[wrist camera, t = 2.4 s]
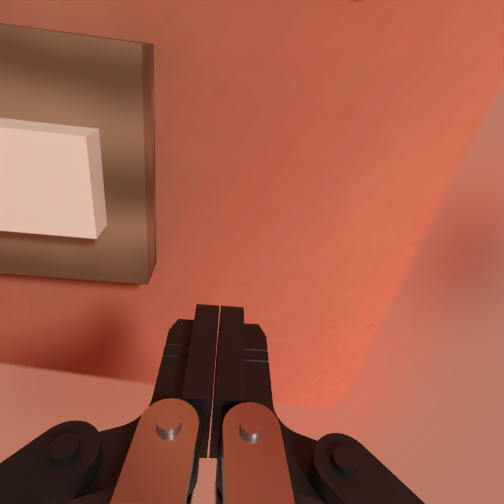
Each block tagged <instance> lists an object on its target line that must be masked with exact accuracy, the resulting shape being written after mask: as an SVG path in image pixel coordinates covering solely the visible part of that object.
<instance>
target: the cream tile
mask: <svg viewBox="0 0 504 504" xmlns="http://www.w3.org/2000/svg"><path fill="white" fill-rule="evenodd" d="M106 226H107V217H106V206H105V194H104V183H103V171H102V160H101V149H100V137H99V129H95V128H86V127H77V126H68V125H59V124H51V123H42V122H33V121H24V120H15V119H6V118H0V231H10V232H21V233H33V234H44V235H56V236H68V237H79V238H91V239H97V238H98V236H99V235H100V234H101V232H102V231H103V230H104V228H105V227H106Z"/></svg>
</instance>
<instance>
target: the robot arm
mask: <svg viewBox="0 0 504 504" xmlns="http://www.w3.org/2000/svg"><path fill="white" fill-rule="evenodd" d="M218 316H219V306H217V305H203V304H197V306H196V312H195V318H194V320H186V319H178V320H177V321H176V323H175V324H174V325H173V326H172V327H171V328H170V329H169V332H168V336H167V340H166V346H165V348H164V352H163V357H162V361H161V365H160V369H159V373H158V377H157V381H156V385H155V389H154V393H153V397H152V401H151V403H150V405H149V407H148V408H147V409H146V410H145V411H144V413H143V414H142V415H141V416H140V417H138V418H137V419H136V420H134V421H133V422H131V423H128V424H126V425H124V426H120V427H116V428H113V429H109V430H105V431H101V432H98V431H97V429H96V428H95V427H94V426H92V425H91V424H89V423H87V422H84V421H68V422H64V423H61V424H59V425H56V426H54V427H52V428H51V429H49V430H47V431H46V432H44V433H43V434H42V435H40V436H39V437H37V438H36V439H35V440H33V441H32V442H30V443H29V444H27V445H26V446H24V447H23V448H21V449H20V450H19V451H17V452H16V453H14V454H13V455H12V456H10V457H9V458H7V459H6V460H4V461H3V462H1V463H0V504H192V498H193V493H194V488H195V486H196V483H197V477H198V468H199V458H207V449H208V439H209V430H210V419H211V410H212V399H213V412H212V427H211V440H210V455H209V458H217V469H216V482H215V504H425V503H424V502H423V501H422V500H420V499H419V498H418V497H417V496H416V495H415V494H414V493H413V492H412V491H411V490H410V489H409V488H408V487H407V486H406V485H404V484H403V483H402V482H401V481H400V480H399V479H398V478H397V477H396V476H395V475H393V473H392V472H391V471H390V470H388V469H387V468H386V467H385V466H384V465H383V464H382V463H381V462H380V461H379V460H377V459H376V457H375V456H373V455H372V454H371V453H370V452H369V451H368V450H367V449H366V448H365V447H363V445H362V444H360V443H359V442H358V441H357V440H355V439H353V438H352V437H350V436H348V435H344V434H340V433H331V434H327V435H325V436H323V437H322V438H320V439H319V440H318V441H316V440H314V439H311V438H308V437H305V436H303V435H300V434H298V433H295V432H293V431H292V430H290V429H289V428H287V427H286V426H285V425H284V424H283V423H282V422H281V421H280V420H279V418H278V417H277V415H276V413H275V411H274V408H273V401H272V391H271V381H270V371H269V363H268V352H267V341H266V335H265V334H264V332H263V331H262V329H261V328H260V326H259V325H258V324H245V323H244V309H243V307H231V306H221V312H220V323H219V333H218V343H217V330H218ZM216 344H217V355H216ZM215 358H216V369H215ZM214 372H215V383H214ZM213 385H214V397H213Z"/></svg>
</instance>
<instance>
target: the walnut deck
mask: <svg viewBox="0 0 504 504" xmlns="http://www.w3.org/2000/svg"><path fill="white" fill-rule="evenodd" d="M0 118H6V119H15V120H24V121H33V122H42V123H51V124H59V125H68V126H77V127H86V128H95V129H99V137H100V149H101V160H102V171H103V183H104V194H105V206H106V217H107V226H106V227H105V228H104V230H103V231H102V232H101V234H100V235H99V236H98V238H97V239H91V238H79V237H68V236H56V235H44V234H33V233H21V232H10V231H0V273H1V274H15V275H28V276H41V277H54V278H67V279H81V280H94V281H107V282H120V283H134V284H147V285H148V284H149V281H150V278H151V276H152V273H153V270H154V268H155V265H156V204H155V133H154V61H153V44H149V43H142V42H134V41H127V40H119V39H112V38H105V37H97V36H90V35H83V34H75V33H68V32H60V31H53V30H46V29H38V28H31V27H24V26H16V25H9V24H1V23H0Z"/></svg>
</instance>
